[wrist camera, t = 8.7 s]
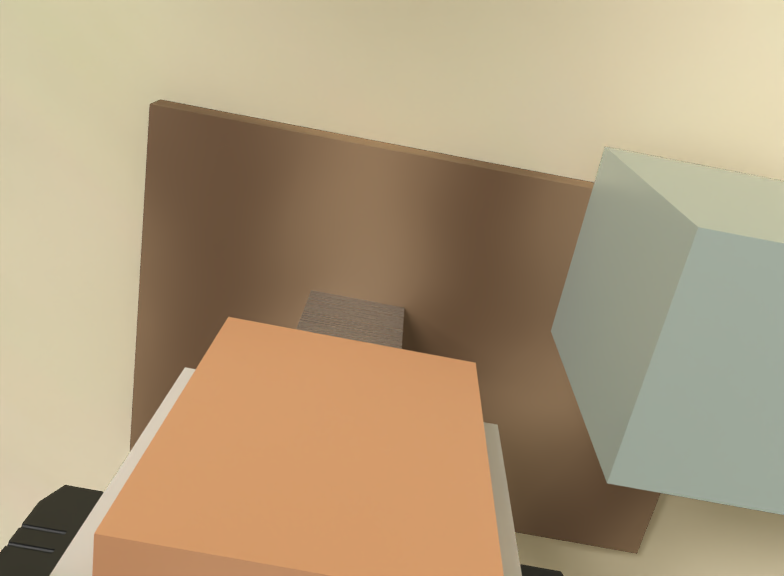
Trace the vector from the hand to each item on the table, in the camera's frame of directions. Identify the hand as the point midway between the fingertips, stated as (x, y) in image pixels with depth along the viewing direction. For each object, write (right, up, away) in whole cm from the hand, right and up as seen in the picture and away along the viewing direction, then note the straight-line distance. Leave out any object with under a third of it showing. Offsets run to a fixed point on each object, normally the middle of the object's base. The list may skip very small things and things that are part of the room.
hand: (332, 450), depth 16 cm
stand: (+2, +2, +6) cm, 6 cm away
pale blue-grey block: (+9, +4, +4) cm, 11 cm away
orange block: (0, 0, 0) cm, 0 cm away
